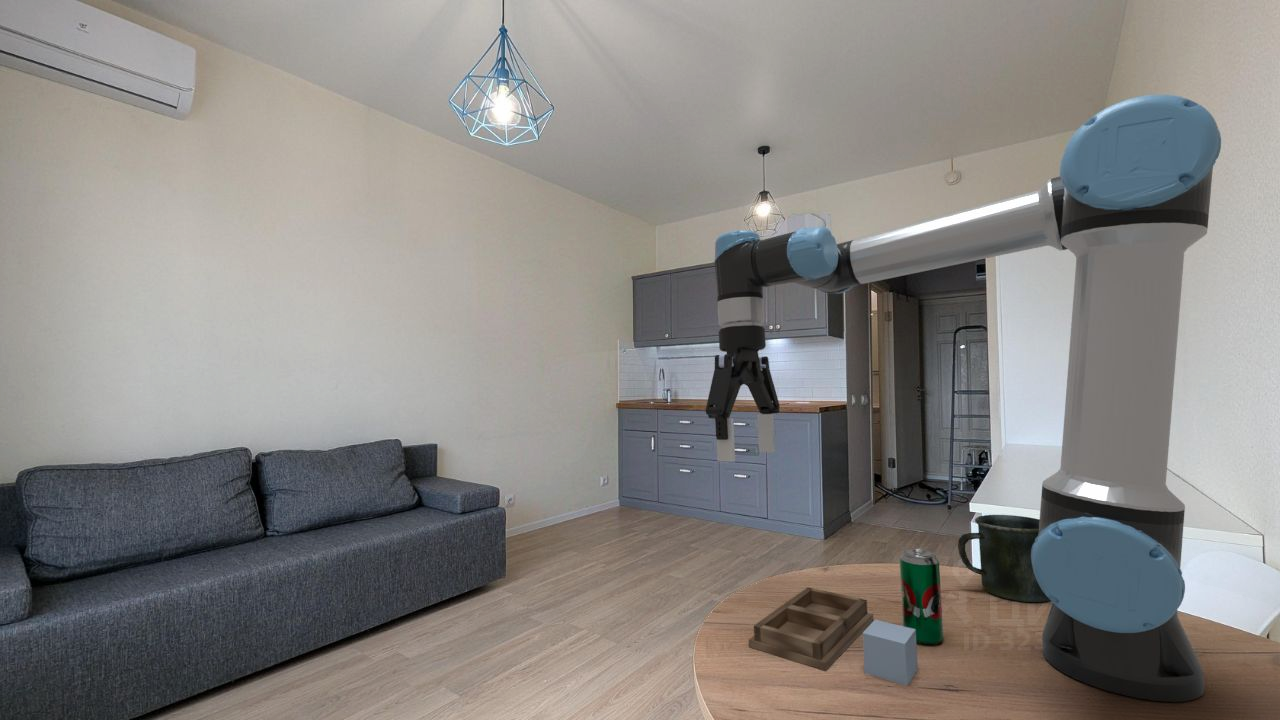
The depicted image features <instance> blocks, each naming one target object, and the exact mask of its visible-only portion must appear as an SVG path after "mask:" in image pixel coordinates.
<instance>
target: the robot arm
mask: <svg viewBox="0 0 1280 720" xmlns="http://www.w3.org/2000/svg"><path fill="white" fill-rule="evenodd" d="M1221 149H1222V138H1221V132H1220V130H1219V127H1218V124H1217V122H1216V120H1215V118H1214V116H1213V115H1212V114H1211V113H1210V111H1209V110H1208V109H1206V107H1203V105H1201V104H1199V103H1198V102H1195V101H1193V100H1191V99H1189V98H1186V97H1182V96H1179V95H1172V94H1148V95H1142V96H1137V97H1132V98H1128V99H1125V100H1122V101H1120V102H1117V103H1114V104H1113V105H1110V106H1108V107H1106V108H1104V109H1102V110H1101V111H1099V112H1097V113H1096V114H1094V115H1093V116H1092V117H1090V118H1089V119H1088V120H1086V122H1085V123H1083V124H1082V125H1081V126H1080V127H1079V128H1078V129H1077V130H1076V131H1075V133H1074V134H1073V135H1072V137H1071V138H1070V139H1069V141H1068V143H1067V144H1066V147H1065V149H1064V152H1063V155H1062V158H1061V161H1060V166H1059V176H1057V177H1052V178H1050V179H1048V180H1047V181H1046V182H1045V183H1044V184H1043V185H1042V186H1041V188H1039V189H1038V190H1034V191H1031V192H1026V193H1024V194H1019V195H1016V196H1011V197H1008V198H1004V199H1000V200H997V201H994V202H990V203H989V202H988V203H985V204H983V205H978V206H973V207H970V208H967V209H962V210H958V211H956V212H952V213H947V214H944V215H940V216H937V217H932V218H929V219H926V220H921V221H917V222H914V223H911V224H907V225H902V226H899V227H896V228H891V229H889V230H885V231H881V232H877V233H873V234H869V235H865V236H862V237H858V238H854V239H851V240H848V241H844V242H840V243H837V241H836V238H835V236H834V235H833V234H832V231H831V230H830V229H829V228H827V227H825V226H815V227H808V228H807V227H804V228H800V229H798V230H795V231H792V232H788V233H785V234H780V235H776V236H772V237H769V238H764V239H761V237H760V235H759V233H758V232H756V231H754V230H749V229H740V230H739V229H738V230H732V231H727V232H723V234H721V235H719V236H718V237H717V238H716V240H715V243H714V245H715V247H714V249H715V251H714V255H715V256H714V261H713V262H714V263H713V264H714V266H715V276H716V277H715V278H716V294H717V296H716V298H717V299H716V300H717V315H718V316H717V319H718V322H717V323H718V326H719V327H722V328H720V329H719V330H718V346H719V347H718V348H719V350H720V351H721V352H724V354H716V355H714V369H713V374H712V379H711V382H710V383H711V384H710V389H709V393H708V397H707V401H706V402H707V403H706V406H705V413H706V415H707V417H708V418H709V419H714V421H715V424H714V425H715V438H716V456H717V457H716V459H717V462H727V463H729V462H730V463H735V462H736V449H735V447H736V445H735V429H734V427H735V424H734V418H732V417H731V418H730V416H731V413H732V411H733V408H734V406H735V403H736V400H737V399H738V398H737V397H738V395H739V392H740V389H741V387H742V386H743V385H745V386H747V388H748V390H749V392H750V395H751V396H752V398H753V400H754V402H755V404H756V406H757V409H758V412H759V413H757V414H756V417H757V418H756V420H757V439H758V452H759V453H776V442H775V441H776V440H775V422H774V414H779V413H780V402H779V399H778V395H777V392H776V388H775V384H774V380H773V377H772V374H771V373H772V372H771V371H770V370H771V369H770V360H769V357H768V356H759V351H762V350H765V348H766V345H767V344H766V329H765V328H764V326H763V324H764V323H765V308H764V288H768V287H773V286H777V285H779V286H780V285H784V284H797V285H801V286H804V287H807V288H808V287H809V288H810V289H811V288H812V289H816V290H817V291H820V292H823V293H825V294H844V293H846V292H848V291H850V290H851V289H853V287H856V286H860V285H864V284H868V283H869V284H870V283H873V282H878V281H882V280H888V279H893V278H898V277H902V276H907V275H913V274H916V273H917V274H918V273H922V272H926V271H931V270H932V271H933V270H935V269H941V268H946V267H951V266H956V265H961V264H965V263H970V262H975V261H980V260H984V259H990V258H994V257H999V256H1004V255H1009V254H1013V253H1018V252H1023V251H1029V250H1033V249H1038V248H1042V247H1047V246H1049V247H1052V248H1055V249H1056V250H1059V251H1065V250H1068V251H1069V252H1071V253H1072V254H1073V255H1074V256H1075V258H1076V259H1075V269H1074V270H1075V273H1074V284H1073V295H1072V296H1073V299H1072V311H1071V313H1072V314H1071V322H1070V337H1069V338H1070V339H1069V348H1068V349H1069V350H1068V351H1069V352H1068V363H1067V377H1066V378H1067V379H1066V391H1065V392H1066V393H1065V404H1064V417H1063V430H1062V431H1063V432H1062V441H1061V442H1062V443H1061V445H1062V446H1061V456H1060V457H1061V458H1060V468H1059V469H1058V471H1057V472H1054V474H1051V475H1050V476H1049V477H1047V478H1045V479H1044V480H1043V481H1042V483H1041V485H1042V486H1041V495H1040V496H1041V499H1040V508H1039V509H1040V510H1039V519H1040V520H1039V532H1038V536H1037V537H1036V539H1035V542H1034V544H1033V545H1032V549H1031V562H1032V566H1033V571H1034V575H1035V577H1036V580H1037V582H1038V584H1039V586H1040V587H1041V589H1042V591H1043V592H1044V593H1045V595H1046V596H1047V597H1048V598H1049V599H1050V600H1049V601H1051V603H1052V604H1051V607H1050V610H1049V614H1048V615H1047V616H1048V617H1047V619H1046V622H1045V625H1044V628H1043V631H1042V636H1041V644H1042V654H1043V656H1044V658H1045V660H1046V661H1047V662H1048V663H1049V664H1050V665H1051V666H1053V667H1054V669H1057V670H1058V671H1060V672H1062V673H1063V674H1065V675H1067V676H1069V677H1070V678H1073V679H1075V680H1077V681H1080V682H1081V683H1084V684H1087V685H1089V686H1093V687H1094V688H1099V689H1101V690H1104V691H1107V692H1111V693H1113V694H1114V693H1115V694H1118V695H1121V696H1122V695H1123V696H1126V697H1131V698H1136V699H1142V700H1147V701H1157V702H1170V703H1171V702H1172V703H1173V702H1176V703H1177V702H1178V703H1179V702H1188V701H1194V700H1197V699H1199V698H1201V697H1202V696H1203V695H1204V693H1205V690H1206V687H1205V678H1204V670H1203V667H1202V665H1201V663H1200V661H1199V659H1198V657H1197V656H1198V655H1197V654H1196V653H1195V650H1194V648H1193V646H1192V644H1191V642H1190V640H1189V638H1188V635H1187V633H1186V631H1185V630H1184V627H1183V625H1182V622H1181V621H1180V618H1179V616H1178V615H1179V613H1178V610H1179V608H1180V606H1181V605H1182V602H1183V601H1184V597H1185V593H1186V583H1185V579H1184V578H1183V572H1182V568H1181V565H1182V563H1181V562H1182V550H1183V549H1182V548H1183V537H1184V524H1185V510H1186V505H1185V503H1184V502H1183V501H1182V500H1180V499H1179V498H1178V497H1177V495H1175V494H1174V493H1173V492H1172V491H1171V490H1170V489H1169V488H1168V486H1167V473H1168V461H1169V448H1170V436H1171V435H1170V434H1171V425H1172V422H1171V421H1172V413H1173V412H1172V411H1173V410H1172V409H1173V399H1174V386H1175V374H1176V373H1175V372H1176V371H1175V370H1176V360H1177V349H1178V348H1177V347H1178V334H1179V325H1180V324H1179V323H1180V321H1179V320H1180V311H1181V310H1180V309H1181V298H1182V297H1181V296H1182V286H1183V284H1182V283H1183V273H1184V271H1183V270H1184V262H1185V261H1184V260H1185V259H1184V258H1185V253H1186V251H1187V250H1188V249H1189V248H1190V247H1191V246H1193V245H1194V244H1195V243H1196V242H1198V241H1200V240H1201V239H1202V238H1203V237H1205V236H1206V235H1207V233H1208V228H1209V218H1210V217H1209V215H1210V207H1211V206H1210V204H1211V192H1212V181H1213V169H1214V167H1215V166H1214V165H1215V164H1216V162H1217V159H1218V158H1219V156H1220V153H1221Z"/></svg>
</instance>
